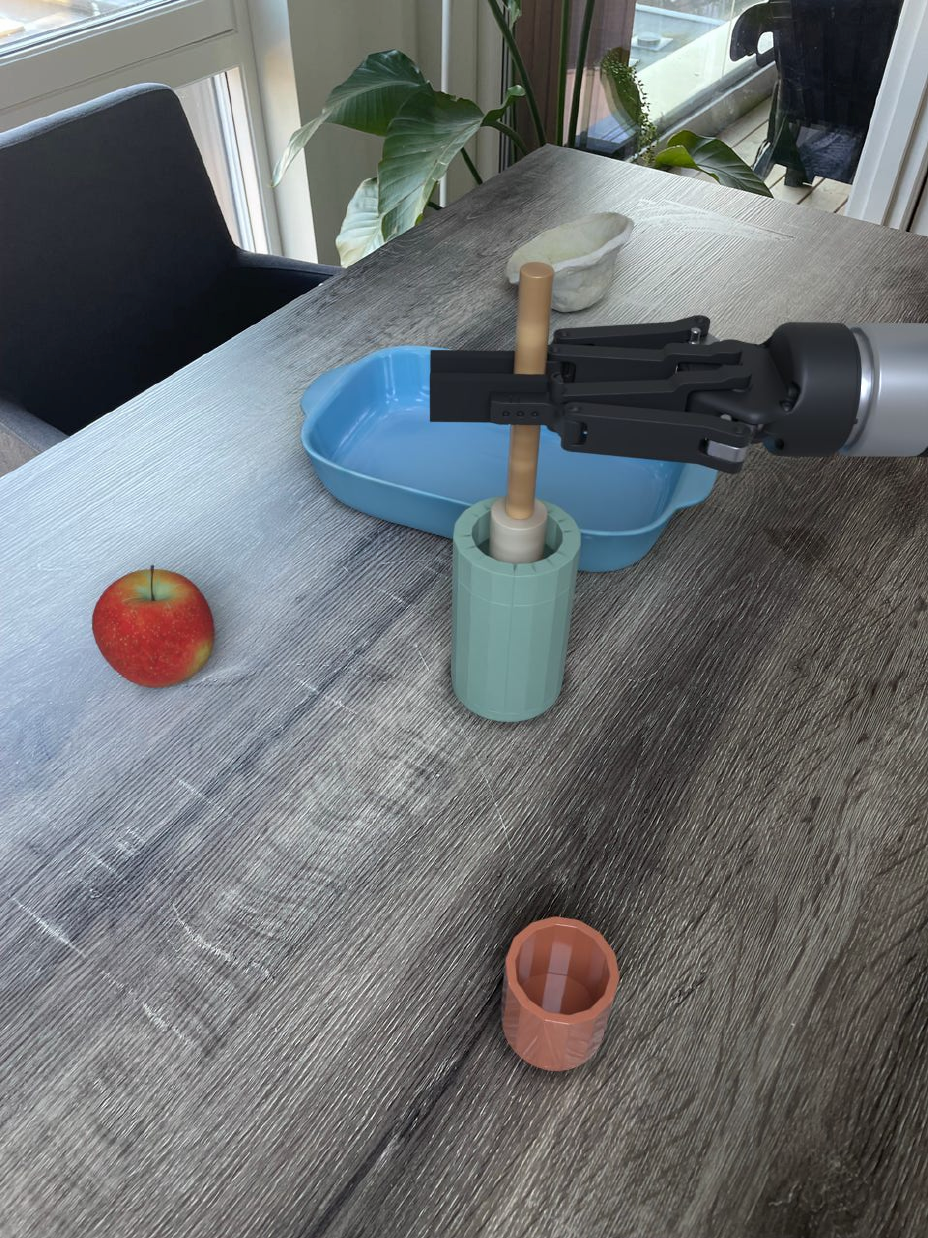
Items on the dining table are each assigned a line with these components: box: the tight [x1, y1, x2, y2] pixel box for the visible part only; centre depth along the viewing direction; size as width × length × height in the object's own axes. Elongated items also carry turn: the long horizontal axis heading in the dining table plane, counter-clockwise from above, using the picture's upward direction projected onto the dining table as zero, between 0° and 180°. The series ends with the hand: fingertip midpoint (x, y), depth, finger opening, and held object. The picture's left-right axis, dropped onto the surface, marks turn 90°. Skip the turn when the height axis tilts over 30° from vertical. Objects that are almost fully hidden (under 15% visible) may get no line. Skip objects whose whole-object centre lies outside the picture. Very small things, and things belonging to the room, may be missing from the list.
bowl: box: [503, 211, 635, 313], centre depth 114 cm, size 15×14×10 cm
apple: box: [91, 564, 216, 689], centre depth 71 cm, size 8×8×10 cm
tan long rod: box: [489, 262, 554, 564], centre depth 60 cm, size 4×4×24 cm
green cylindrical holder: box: [450, 496, 581, 723], centre depth 69 cm, size 8×8×14 cm
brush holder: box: [500, 916, 620, 1072], centre depth 54 cm, size 6×6×6 cm
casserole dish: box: [299, 344, 719, 573], centre depth 88 cm, size 37×22×7 cm, turn 69°
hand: (430, 385), depth 57 cm, fingers closed on tan long rod, 2 cm apart
